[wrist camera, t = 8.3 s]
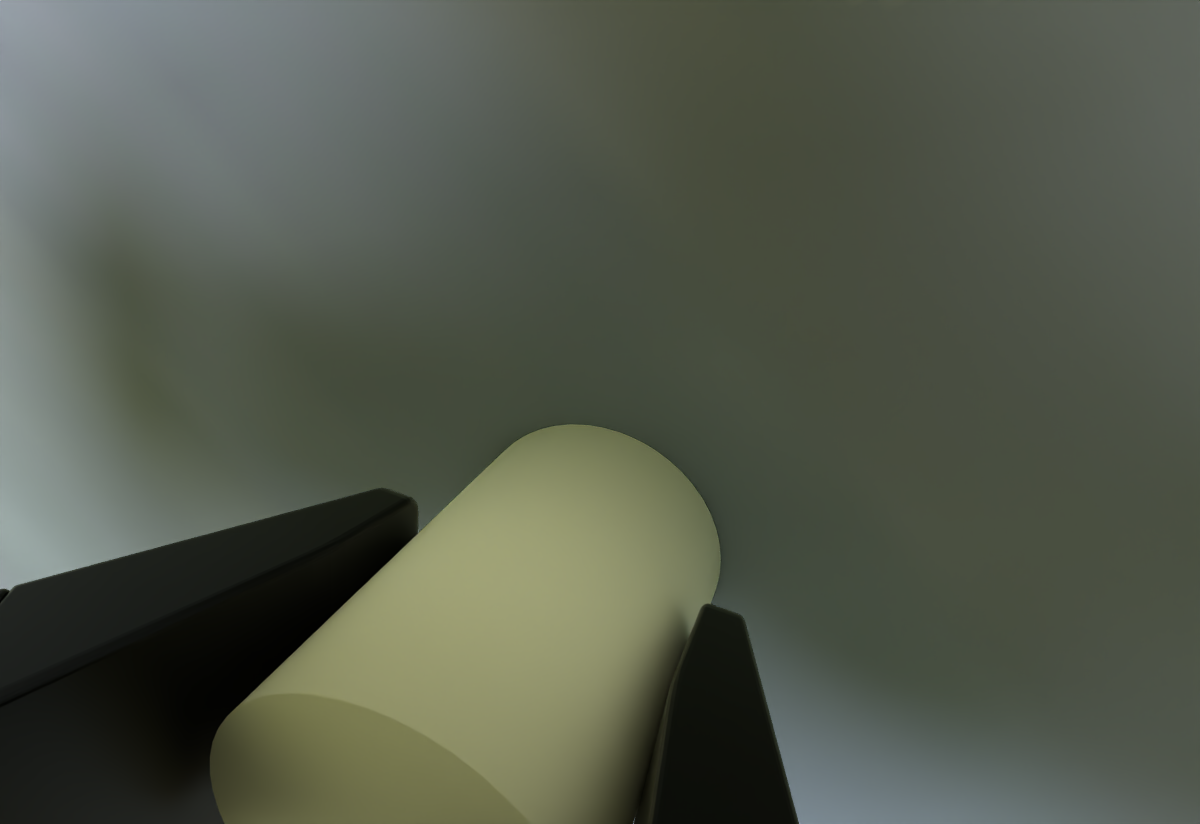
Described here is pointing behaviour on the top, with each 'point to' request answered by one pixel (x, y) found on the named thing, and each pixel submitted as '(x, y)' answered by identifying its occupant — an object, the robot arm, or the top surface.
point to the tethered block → (491, 654)
